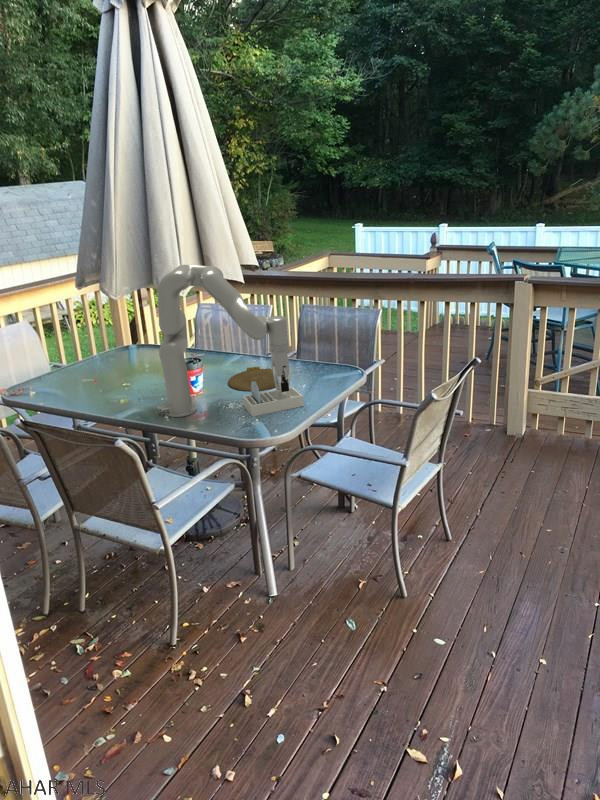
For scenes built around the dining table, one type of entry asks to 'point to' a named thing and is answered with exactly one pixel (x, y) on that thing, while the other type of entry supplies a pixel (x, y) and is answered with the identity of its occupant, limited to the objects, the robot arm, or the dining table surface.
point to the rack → (270, 401)
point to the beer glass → (278, 382)
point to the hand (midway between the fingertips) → (282, 388)
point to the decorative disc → (253, 379)
